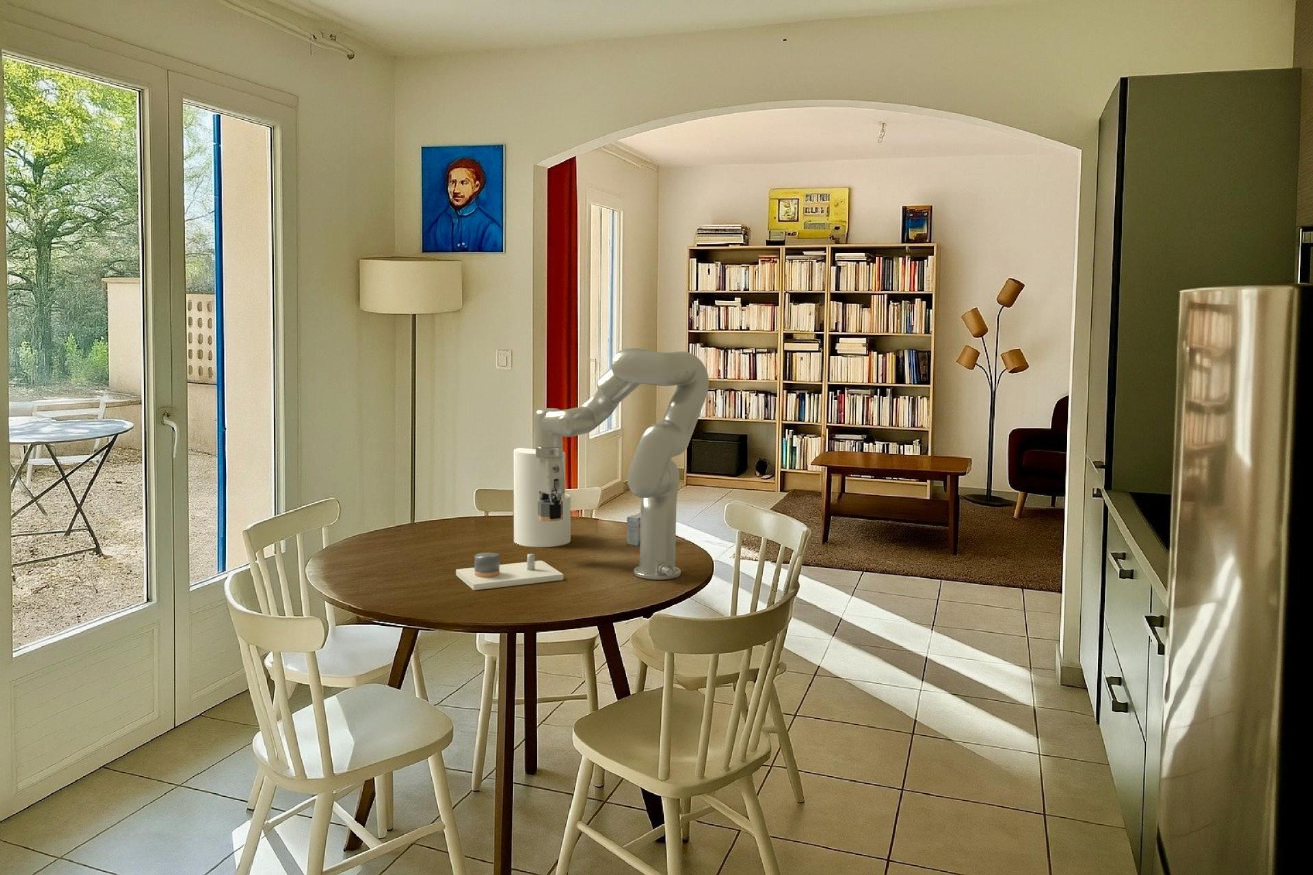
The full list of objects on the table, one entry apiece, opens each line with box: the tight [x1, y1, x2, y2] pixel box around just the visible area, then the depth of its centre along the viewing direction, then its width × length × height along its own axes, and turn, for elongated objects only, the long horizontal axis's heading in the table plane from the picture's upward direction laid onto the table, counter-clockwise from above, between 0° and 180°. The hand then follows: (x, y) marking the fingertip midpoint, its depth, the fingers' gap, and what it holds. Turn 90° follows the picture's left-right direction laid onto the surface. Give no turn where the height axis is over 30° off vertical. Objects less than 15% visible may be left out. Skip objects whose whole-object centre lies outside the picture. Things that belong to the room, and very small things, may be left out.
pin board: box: [455, 552, 564, 591], centre depth 258 cm, size 16×24×6 cm, turn 117°
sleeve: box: [538, 499, 563, 521], centre depth 275 cm, size 6×6×5 cm
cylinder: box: [513, 447, 572, 548], centre depth 299 cm, size 17×17×28 cm
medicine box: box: [626, 513, 641, 547], centre depth 299 cm, size 8×4×9 cm, turn 143°
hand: (550, 515), depth 275 cm, fingers closed on sleeve, 6 cm apart
